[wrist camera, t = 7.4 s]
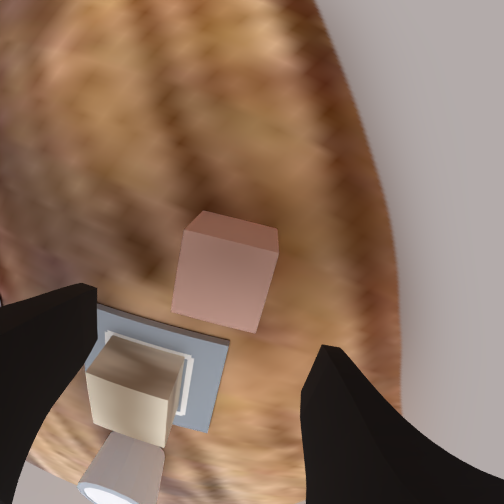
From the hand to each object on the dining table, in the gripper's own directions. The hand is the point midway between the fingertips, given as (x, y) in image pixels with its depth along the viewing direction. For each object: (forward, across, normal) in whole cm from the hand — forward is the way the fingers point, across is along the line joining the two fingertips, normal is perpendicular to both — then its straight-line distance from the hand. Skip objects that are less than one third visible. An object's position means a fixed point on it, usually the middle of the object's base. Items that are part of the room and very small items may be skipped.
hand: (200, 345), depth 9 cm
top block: (+8, 0, 0) cm, 8 cm away
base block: (+8, +4, +10) cm, 13 cm away
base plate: (+8, +4, +10) cm, 14 cm away
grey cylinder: (+9, +5, +21) cm, 23 cm away
